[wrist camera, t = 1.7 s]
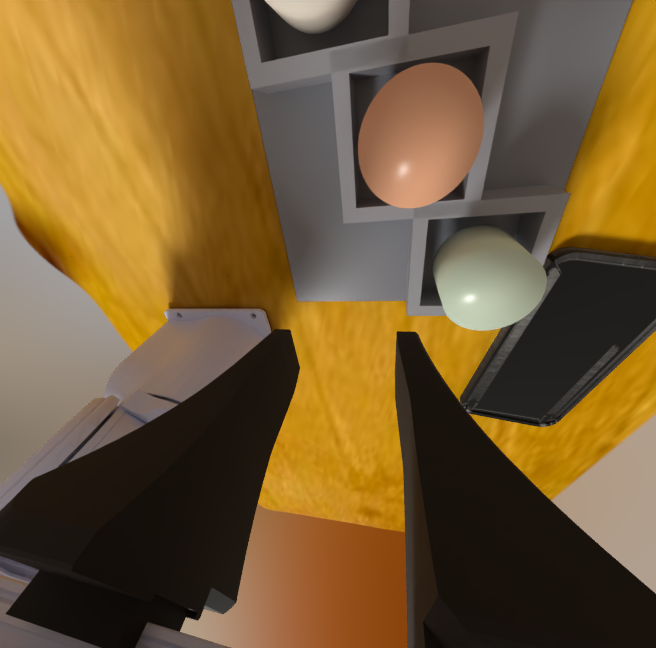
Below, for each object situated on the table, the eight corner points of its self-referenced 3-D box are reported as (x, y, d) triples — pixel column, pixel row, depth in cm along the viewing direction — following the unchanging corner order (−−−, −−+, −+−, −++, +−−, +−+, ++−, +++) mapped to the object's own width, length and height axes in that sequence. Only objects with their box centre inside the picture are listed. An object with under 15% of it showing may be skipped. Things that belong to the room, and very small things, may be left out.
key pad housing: (299, 297, 20) (289, 317, 18) (207, -139, 10) (158, -211, 8) (520, 295, 17) (539, 319, 15) (753, -367, 6) (927, -602, 4)
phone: (457, 411, 24) (558, 249, 14) (454, 400, 24) (548, 242, 15) (552, 429, 23) (723, 270, 14) (545, 417, 24) (702, 261, 14)
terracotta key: (366, 195, 13) (360, 212, 10) (362, 88, 11) (354, 76, 8) (453, 187, 12) (470, 203, 10) (470, 69, 10) (498, 49, 7)
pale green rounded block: (428, 296, 16) (436, 329, 13) (437, 227, 13) (448, 251, 11) (504, 295, 15) (528, 331, 12) (526, 221, 12) (563, 247, 10)
